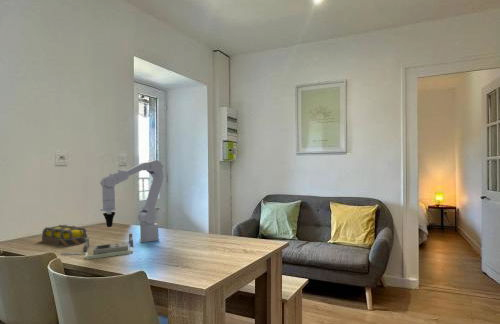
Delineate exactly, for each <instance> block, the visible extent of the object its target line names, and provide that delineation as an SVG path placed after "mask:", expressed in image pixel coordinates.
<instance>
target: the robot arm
mask: <svg viewBox="0 0 500 324" xmlns="http://www.w3.org/2000/svg"><path fill="white" fill-rule="evenodd" d="M163 167H164V166H163V164H162V162H161V161H159V160H158V159H154V160H147V161H143V162H140V163H139V164H136V165H135V166H133V167H131V168H129V169H127V170H126V169H121V168H119V169H118V170H117V171H116V172H113V173H109V175H107V176H104V177H102V178H101V179H100V180H101V181H100V183H99V184H100V186H102V208H100V211H101V212H103V213H102V215H103V217H104V219H105V222H106V227H107V228H112V227H113V222H114V218H115V215H116V209H117V208H116V194H115V193H116V191H115V186H116V185H119V184H120V183H123V182H125V181H127V180H129V178H130V176H132V175H134V174H137V173H139V172H141V171H146V172H147V173H149V174H150V176H151V177H152V181H151V184H150V187H149V190H148V195H147V197H146V201H145V205H144V206H143V207H142V208H141V211H140V212H139V213H138V217H137V219H138V221H139V222H140V223H139V225H140V226H139V232H140V233H139V234H140V238H139V243H146V242H154V241H159V240H160V239H159V224H158V223H157V222H156V223H155V221H156V219H157V217H156V214H157V211H156V210H157V209H156V205H157V202H158V197H159V195H160V192H161V191H160V190H161V188H162V184H163V181H164V176H165V175H164V171H163Z"/></svg>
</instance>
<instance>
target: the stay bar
mask: <svg viewBox="0 0 500 324" xmlns="http://www.w3.org/2000/svg"><path fill="white" fill-rule="evenodd" d="M87 252H88V251H87ZM87 252H85V251H84V252H63V253H60V255H61V256H77V255H78V256H80V255H79V254H86V253H87Z"/></svg>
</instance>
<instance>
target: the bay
mask: <svg viewBox="0 0 500 324" xmlns="http://www.w3.org/2000/svg"><path fill="white" fill-rule="evenodd" d="M133 252H134V251H133V246H130V247H129V249H128V251H120V252H112V253H104V254H96V255H93V254H90V255H89V252H88V251H87V253H86V254H85V255H84V260H87V259H88V260H93V259H100V258H106V257H108V258H109V257H115V256H116V255H117V256H124V255H130V254H133Z"/></svg>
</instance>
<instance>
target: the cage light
mask: <svg viewBox="0 0 500 324" xmlns="http://www.w3.org/2000/svg"><path fill="white" fill-rule="evenodd" d="M41 232H42V235H41V242H42V243H43V244H48V243H49V245H53V244H55V245H54V246H59V245H62V246H63V247H65V246H66V245H68V246H75V244H76V245H80V243H81V244H85V238H88V234H87V230H86V227H85V226H76V225H67V224H59V225H56V226H50V227H49V226H45V228H44V229H43V230H42V231H41Z"/></svg>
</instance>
